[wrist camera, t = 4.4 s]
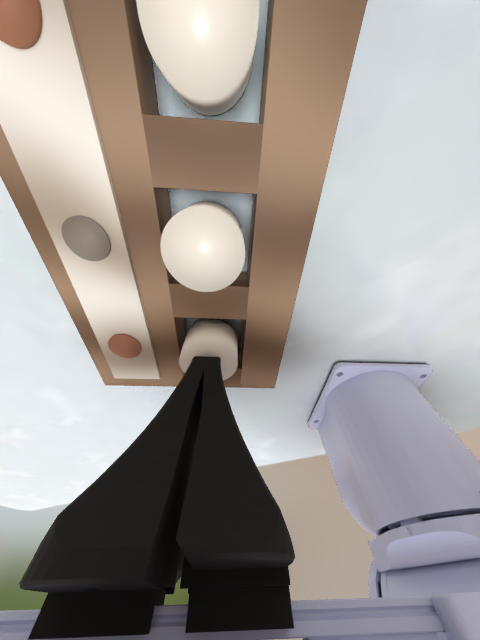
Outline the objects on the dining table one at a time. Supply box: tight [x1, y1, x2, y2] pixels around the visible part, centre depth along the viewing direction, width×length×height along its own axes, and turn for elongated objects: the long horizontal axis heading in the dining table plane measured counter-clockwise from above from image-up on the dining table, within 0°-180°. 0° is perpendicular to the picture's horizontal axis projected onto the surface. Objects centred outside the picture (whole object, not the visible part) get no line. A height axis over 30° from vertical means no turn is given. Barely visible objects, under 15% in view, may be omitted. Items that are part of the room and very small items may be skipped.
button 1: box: [136, 0, 259, 115], centre depth 6 cm, size 3×3×2 cm
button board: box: [0, 0, 367, 388], centre depth 10 cm, size 20×12×2 cm, turn 177°
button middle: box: [160, 201, 245, 292], centre depth 9 cm, size 3×3×2 cm
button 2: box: [179, 319, 238, 380], centre depth 12 cm, size 3×3×2 cm
